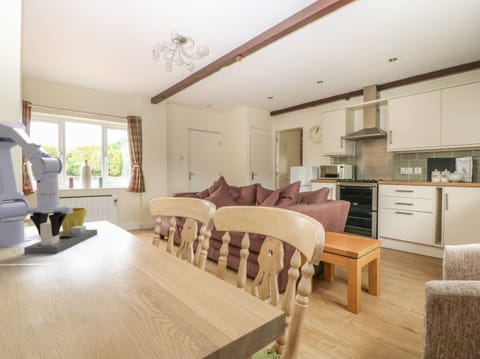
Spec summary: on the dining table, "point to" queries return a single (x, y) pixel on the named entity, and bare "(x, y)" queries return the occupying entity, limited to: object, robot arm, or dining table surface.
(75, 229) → the white cube
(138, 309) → the dining table surface
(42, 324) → the dining table surface
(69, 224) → the plant pot
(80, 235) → the grey slotted board
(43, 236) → the plug
